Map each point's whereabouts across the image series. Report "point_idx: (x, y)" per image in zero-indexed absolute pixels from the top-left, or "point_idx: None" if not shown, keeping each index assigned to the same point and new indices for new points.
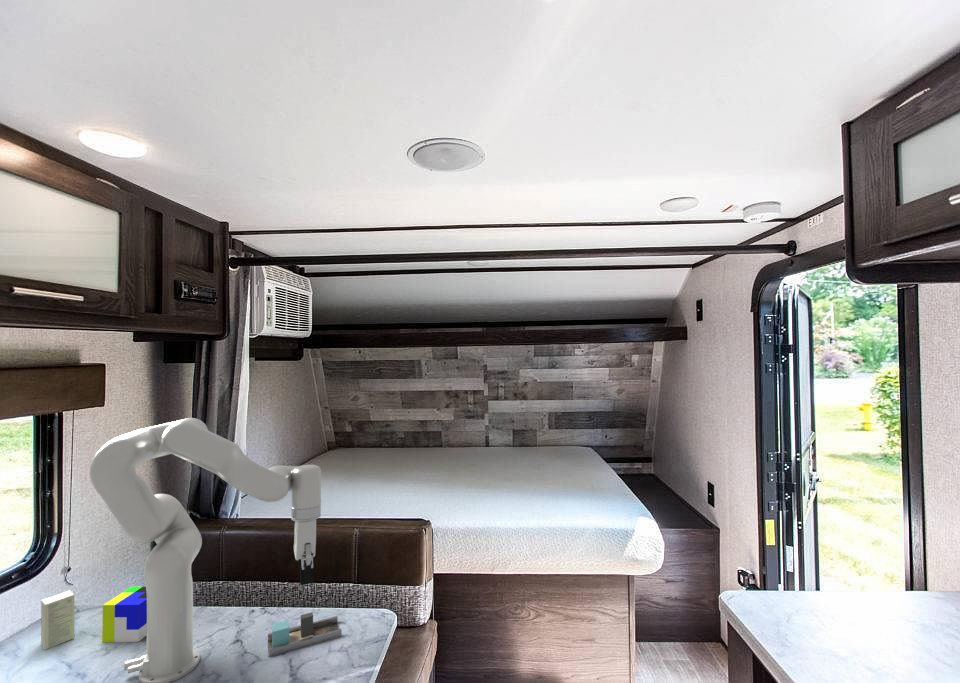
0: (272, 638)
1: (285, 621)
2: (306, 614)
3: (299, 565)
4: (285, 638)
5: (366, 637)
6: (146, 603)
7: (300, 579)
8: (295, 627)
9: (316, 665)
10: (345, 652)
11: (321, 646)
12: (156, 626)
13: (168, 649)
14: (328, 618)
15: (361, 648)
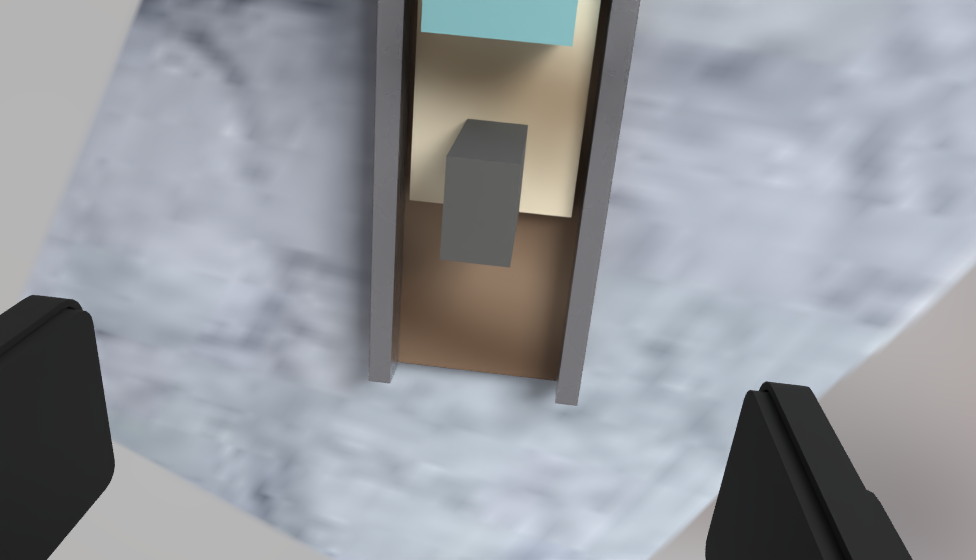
0: None
1: (560, 14)
2: (499, 213)
3: (766, 448)
4: None
5: (328, 467)
6: None
7: (16, 333)
8: (610, 101)
9: (178, 152)
10: (235, 332)
11: (371, 225)
12: None
13: None
14: (579, 348)
15: (233, 414)
